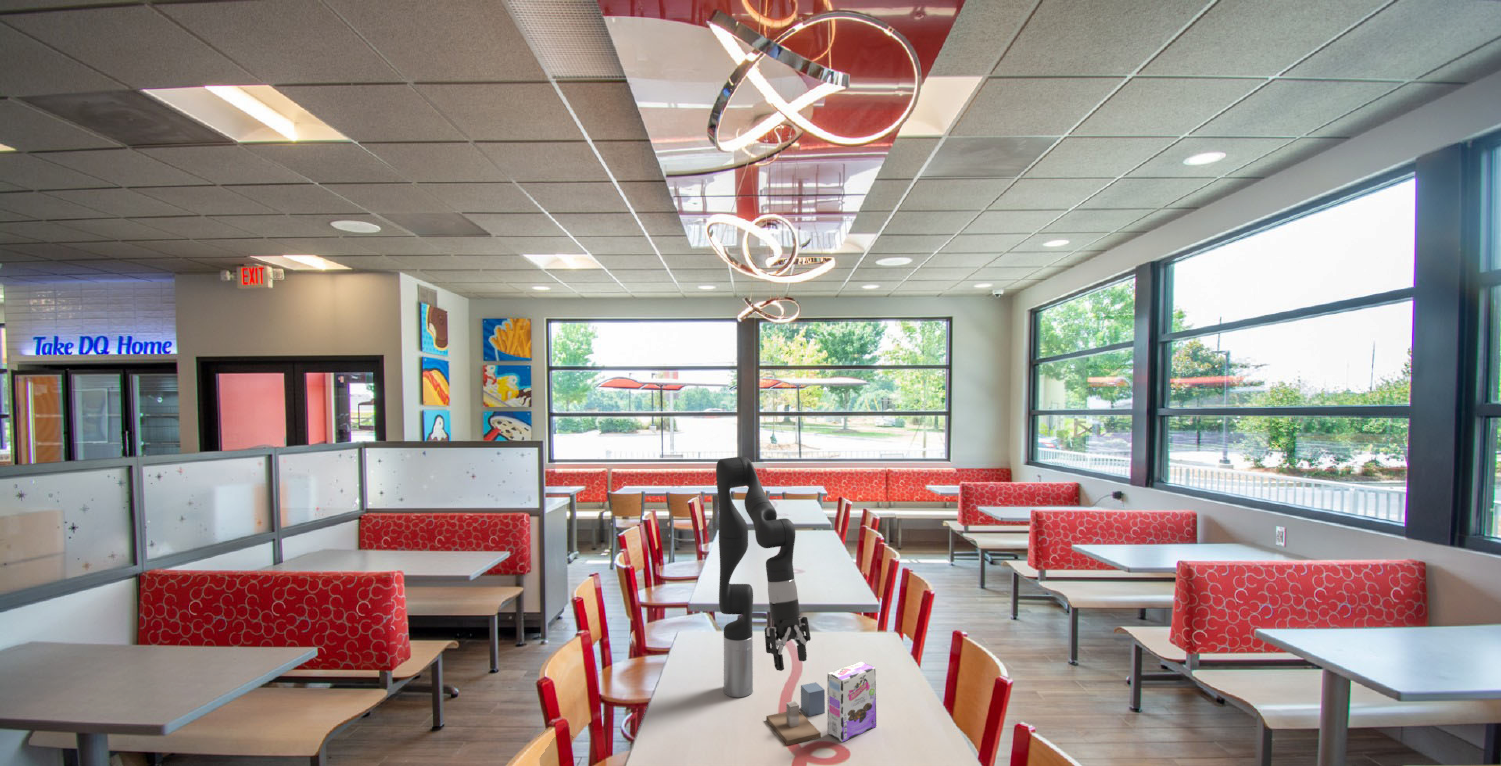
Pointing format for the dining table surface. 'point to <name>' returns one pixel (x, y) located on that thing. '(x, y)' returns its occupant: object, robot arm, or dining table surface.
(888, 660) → the dining table surface
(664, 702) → the dining table surface
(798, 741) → the post stand
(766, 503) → the robot arm
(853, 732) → the candy box
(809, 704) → the blue-gray block
